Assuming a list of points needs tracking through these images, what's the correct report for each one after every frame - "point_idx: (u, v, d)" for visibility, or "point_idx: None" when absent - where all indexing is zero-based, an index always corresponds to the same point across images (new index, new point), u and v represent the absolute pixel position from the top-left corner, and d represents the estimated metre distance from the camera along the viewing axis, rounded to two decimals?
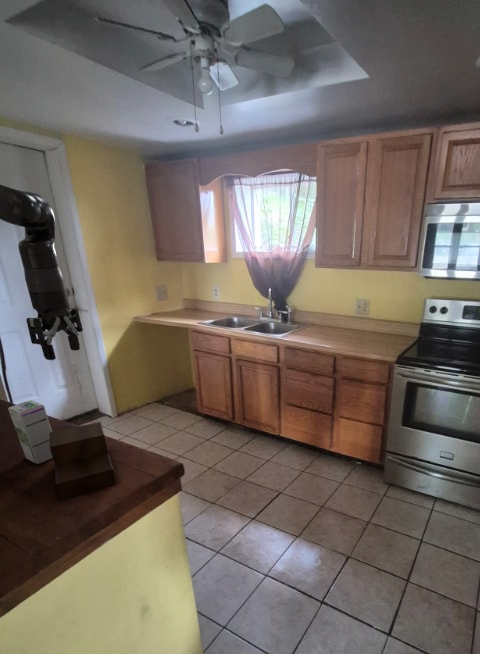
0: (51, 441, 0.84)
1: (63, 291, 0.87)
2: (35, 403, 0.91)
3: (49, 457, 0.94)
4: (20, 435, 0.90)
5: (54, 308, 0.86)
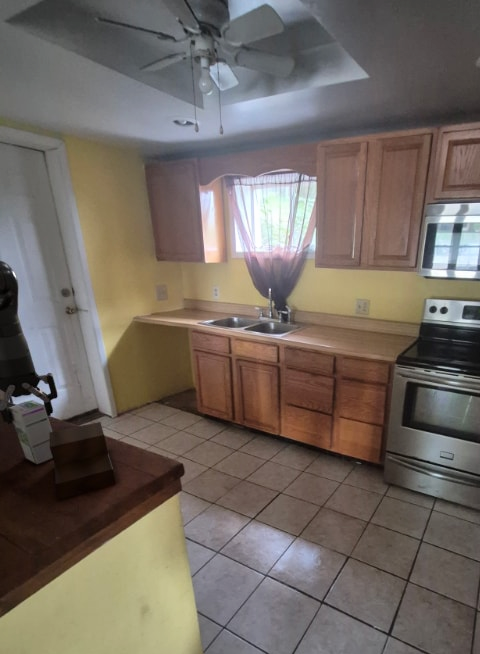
0: (51, 441, 0.84)
1: (10, 361, 0.82)
2: (35, 403, 0.91)
3: (49, 457, 0.94)
4: (20, 435, 0.90)
5: (1, 376, 0.82)
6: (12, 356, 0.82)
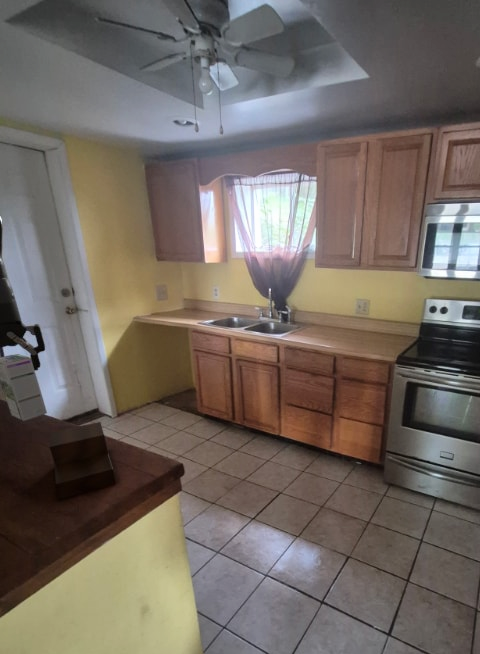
0: (51, 441, 0.84)
1: None
2: (22, 356, 0.86)
3: (36, 415, 0.89)
4: (5, 389, 0.85)
5: None
6: None
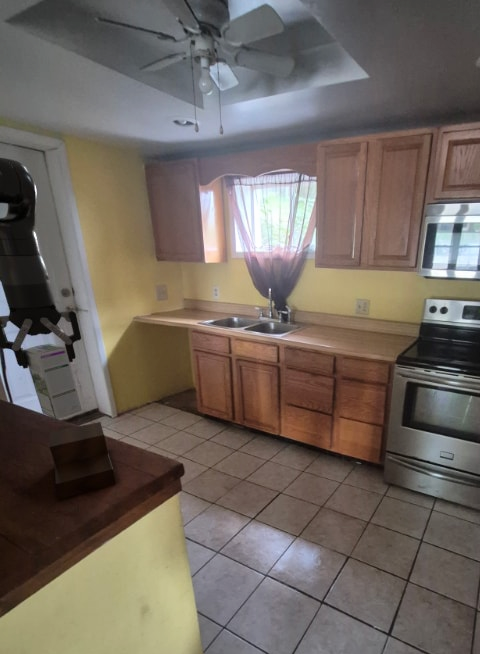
0: (51, 441, 0.84)
1: (27, 286, 0.67)
2: (55, 346, 0.76)
3: (71, 412, 0.79)
4: (37, 383, 0.76)
5: (15, 306, 0.68)
6: (29, 281, 0.67)
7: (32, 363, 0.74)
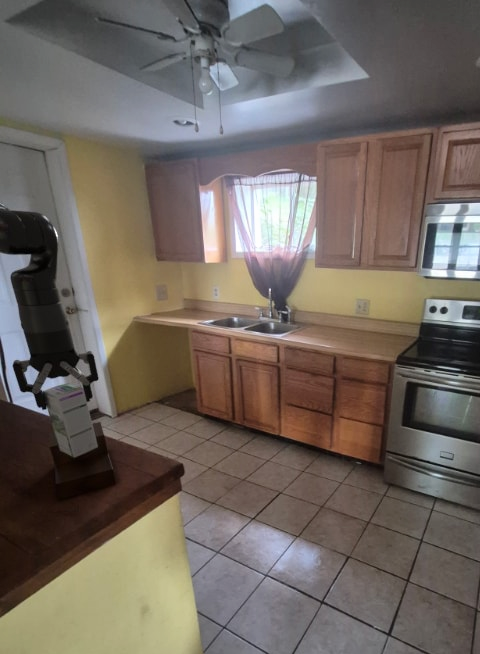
0: (51, 441, 0.84)
1: (48, 334, 0.69)
2: (73, 386, 0.78)
3: (87, 450, 0.81)
4: (55, 423, 0.77)
5: (36, 353, 0.69)
6: (50, 328, 0.69)
7: (51, 404, 0.75)
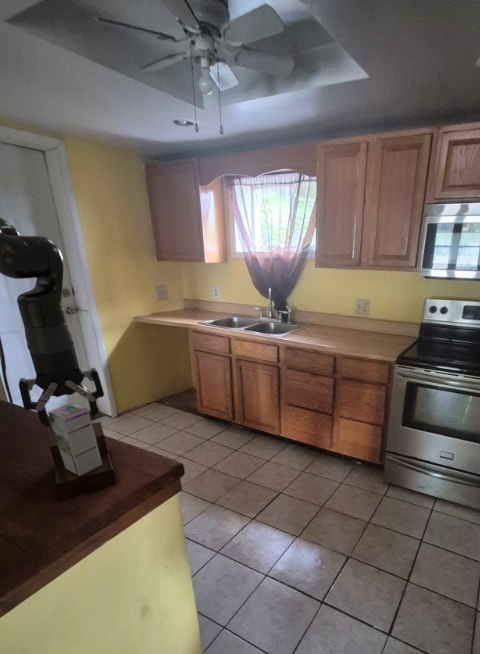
0: (51, 441, 0.84)
1: (54, 354, 0.70)
2: (78, 406, 0.80)
3: (92, 468, 0.83)
4: (61, 443, 0.79)
5: (42, 373, 0.71)
6: (56, 349, 0.70)
7: (56, 425, 0.77)
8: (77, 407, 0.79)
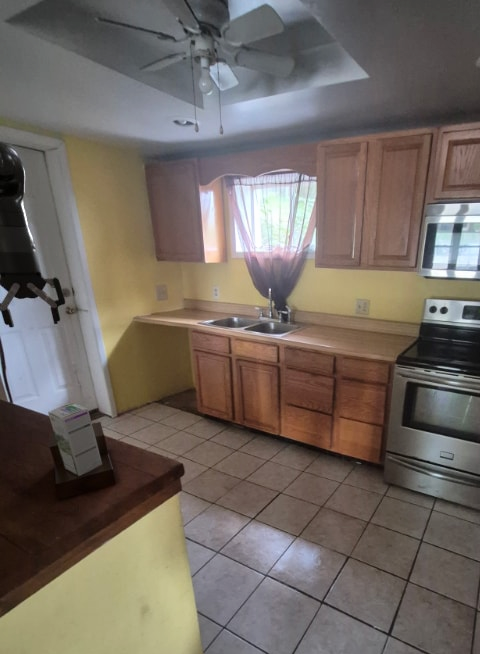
0: (51, 441, 0.84)
1: (15, 254, 0.77)
2: (78, 406, 0.80)
3: (92, 468, 0.83)
4: (61, 443, 0.79)
5: (5, 271, 0.78)
6: (17, 249, 0.77)
7: (56, 425, 0.77)
8: (77, 407, 0.79)
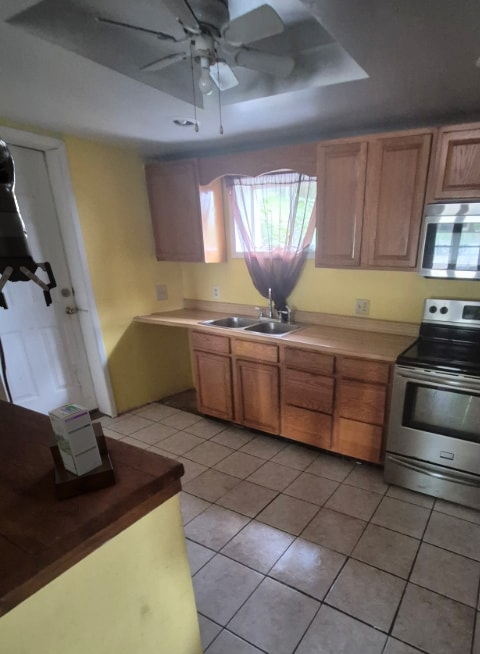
0: (51, 441, 0.84)
1: (8, 238, 0.81)
2: (78, 406, 0.80)
3: (92, 468, 0.83)
4: (61, 443, 0.79)
5: None
6: (9, 233, 0.81)
7: (56, 425, 0.77)
8: (77, 407, 0.79)
